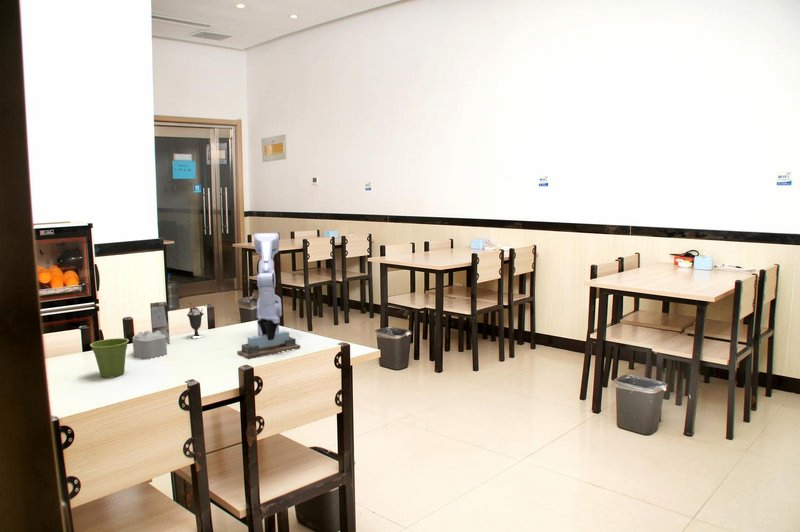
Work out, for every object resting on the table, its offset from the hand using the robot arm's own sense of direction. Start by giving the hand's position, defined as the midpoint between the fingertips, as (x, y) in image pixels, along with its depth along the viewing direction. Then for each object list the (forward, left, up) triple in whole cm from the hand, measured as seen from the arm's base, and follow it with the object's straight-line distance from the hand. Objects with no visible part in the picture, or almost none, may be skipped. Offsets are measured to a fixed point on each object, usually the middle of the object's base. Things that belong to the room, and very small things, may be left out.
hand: (268, 338), depth 232 cm
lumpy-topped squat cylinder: (-28, -36, -5) cm, 46 cm away
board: (0, 0, -5) cm, 5 cm away
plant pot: (-10, -54, -5) cm, 55 cm away
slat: (0, 0, -2) cm, 2 cm away
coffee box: (-44, -26, -5) cm, 51 cm away
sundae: (-42, -12, -5) cm, 44 cm away
